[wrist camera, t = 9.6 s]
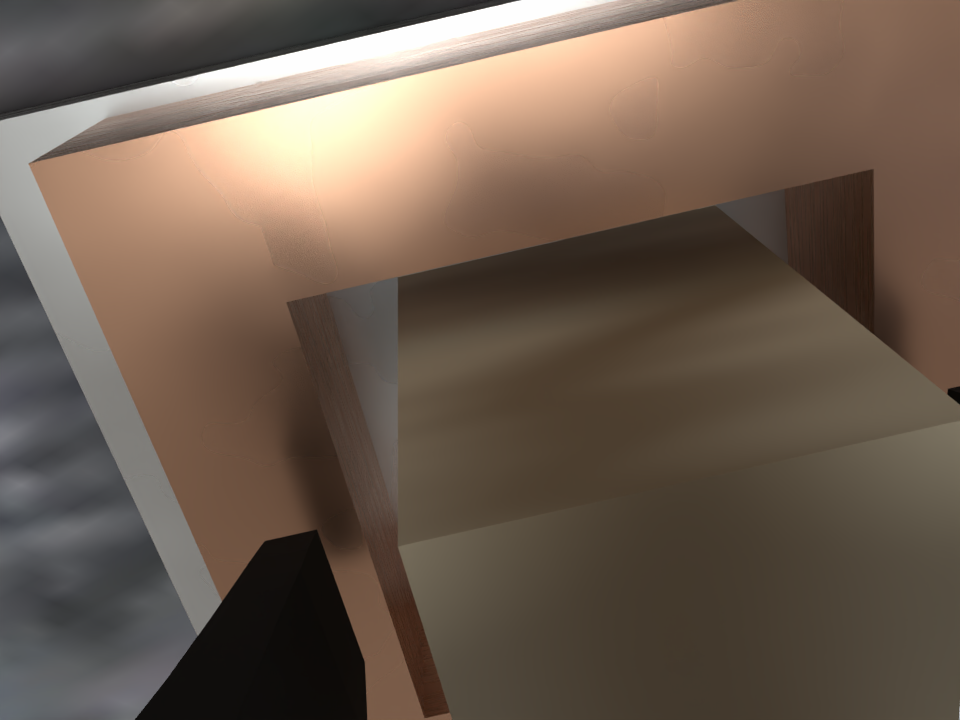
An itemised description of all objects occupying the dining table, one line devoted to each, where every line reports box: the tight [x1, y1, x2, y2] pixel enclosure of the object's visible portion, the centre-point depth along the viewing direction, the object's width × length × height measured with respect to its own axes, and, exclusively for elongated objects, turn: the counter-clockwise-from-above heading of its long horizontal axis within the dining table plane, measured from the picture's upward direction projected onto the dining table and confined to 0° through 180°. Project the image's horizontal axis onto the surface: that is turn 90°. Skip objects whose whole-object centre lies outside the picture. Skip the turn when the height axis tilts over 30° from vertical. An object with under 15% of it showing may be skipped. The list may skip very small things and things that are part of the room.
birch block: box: [398, 205, 960, 720], centre depth 10 cm, size 4×4×6 cm
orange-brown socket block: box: [0, 0, 960, 720], centre depth 12 cm, size 14×11×4 cm
